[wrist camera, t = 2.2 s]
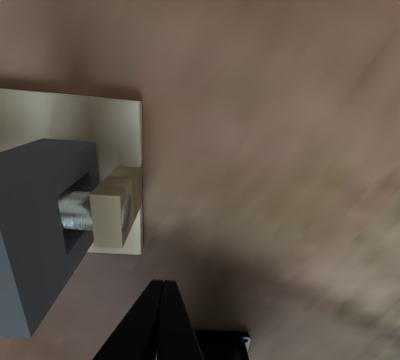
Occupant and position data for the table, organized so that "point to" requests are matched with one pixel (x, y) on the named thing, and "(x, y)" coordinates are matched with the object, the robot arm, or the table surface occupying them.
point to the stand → (105, 151)
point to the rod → (84, 211)
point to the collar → (39, 227)
